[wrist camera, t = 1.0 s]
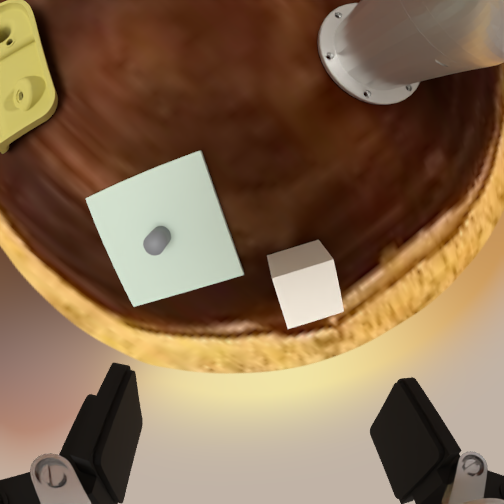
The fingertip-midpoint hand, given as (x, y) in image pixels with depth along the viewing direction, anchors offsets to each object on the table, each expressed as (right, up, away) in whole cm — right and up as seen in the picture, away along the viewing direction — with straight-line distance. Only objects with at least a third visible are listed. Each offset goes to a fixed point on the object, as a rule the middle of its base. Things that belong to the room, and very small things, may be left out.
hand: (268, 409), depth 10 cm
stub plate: (-10, +7, +23) cm, 26 cm away
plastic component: (-30, +28, +15) cm, 44 cm away
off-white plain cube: (+5, +3, +25) cm, 26 cm away
